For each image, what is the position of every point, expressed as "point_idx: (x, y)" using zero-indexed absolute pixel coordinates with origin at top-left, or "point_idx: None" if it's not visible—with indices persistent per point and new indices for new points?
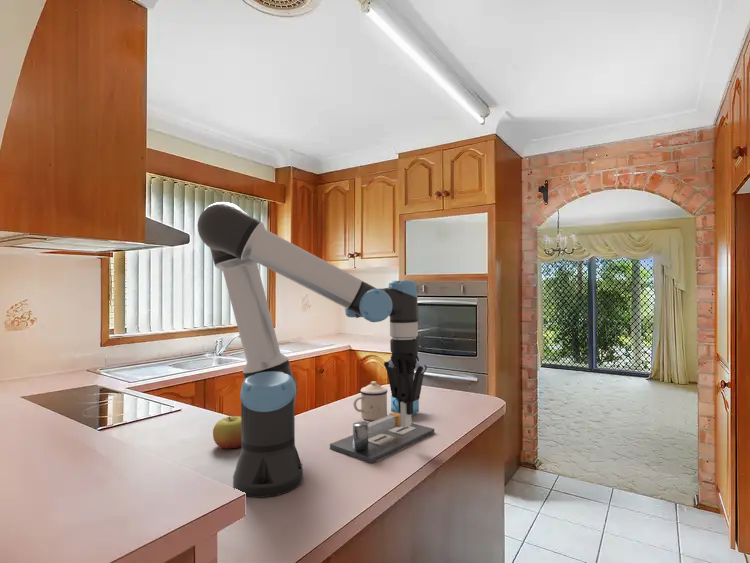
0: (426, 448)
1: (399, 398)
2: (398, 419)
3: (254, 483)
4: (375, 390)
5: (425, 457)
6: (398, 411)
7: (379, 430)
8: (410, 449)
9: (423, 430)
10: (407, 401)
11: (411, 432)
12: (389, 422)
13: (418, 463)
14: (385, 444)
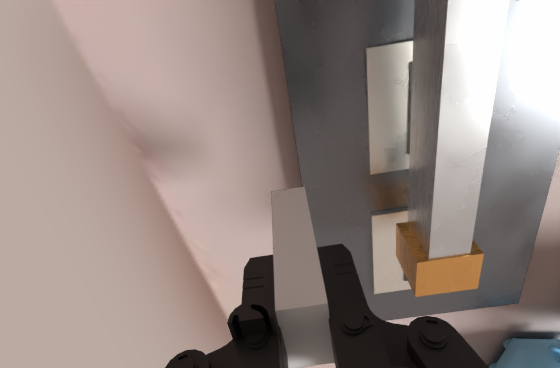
0: (230, 211)
1: (346, 330)
2: (409, 253)
3: None
4: None
5: (159, 148)
6: (542, 348)
7: (418, 100)
8: (265, 160)
9: None
10: (230, 329)
11: (362, 257)
12: (423, 196)
13: (120, 81)
14: (351, 85)
